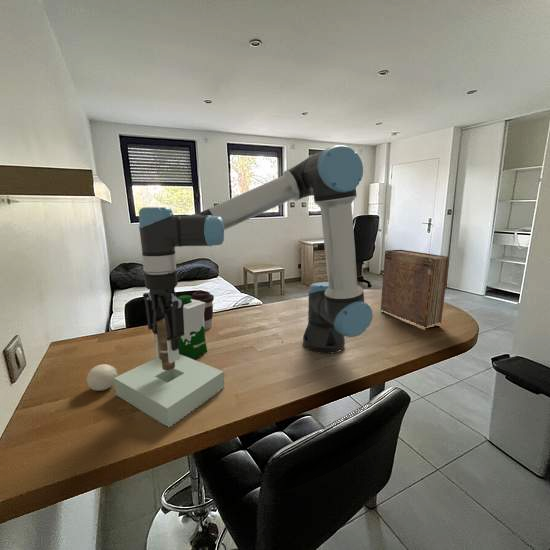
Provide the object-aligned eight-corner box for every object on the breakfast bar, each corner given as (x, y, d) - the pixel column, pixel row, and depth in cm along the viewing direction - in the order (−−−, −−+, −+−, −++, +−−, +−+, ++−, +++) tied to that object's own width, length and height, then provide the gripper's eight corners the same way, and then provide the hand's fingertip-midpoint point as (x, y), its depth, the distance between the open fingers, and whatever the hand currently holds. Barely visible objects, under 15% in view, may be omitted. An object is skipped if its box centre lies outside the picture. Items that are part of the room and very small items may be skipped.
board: (224, 387, 80) (223, 371, 79) (169, 427, 65) (167, 408, 64) (172, 365, 91) (171, 350, 90) (116, 394, 77) (113, 378, 76)
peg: (180, 365, 77) (176, 320, 74) (167, 372, 74) (162, 325, 71) (170, 361, 79) (166, 316, 77) (157, 368, 76) (152, 321, 73)
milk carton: (193, 345, 105) (189, 292, 101) (211, 351, 101) (208, 296, 96) (173, 355, 98) (168, 298, 94) (192, 362, 93) (188, 303, 89)
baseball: (122, 387, 80) (119, 365, 79) (92, 399, 75) (89, 376, 74) (114, 377, 85) (111, 356, 83) (85, 388, 80) (82, 366, 78)
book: (441, 327, 121) (450, 256, 114) (425, 331, 117) (433, 258, 111) (394, 309, 143) (400, 249, 137) (380, 311, 140) (385, 250, 133)
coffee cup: (218, 323, 126) (216, 290, 123) (210, 332, 116) (209, 296, 113) (196, 322, 127) (194, 289, 124) (187, 331, 117) (184, 296, 114)
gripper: (196, 272, 70) (201, 361, 75) (152, 265, 79) (160, 344, 84) (170, 278, 63) (177, 374, 68) (126, 270, 73) (135, 355, 78)
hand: (168, 357), depth 76 cm, fingers closed on peg, 4 cm apart
